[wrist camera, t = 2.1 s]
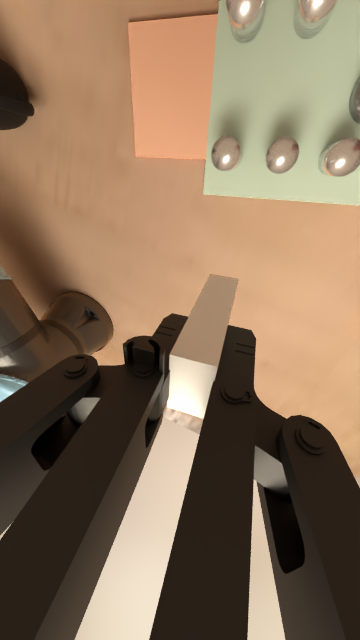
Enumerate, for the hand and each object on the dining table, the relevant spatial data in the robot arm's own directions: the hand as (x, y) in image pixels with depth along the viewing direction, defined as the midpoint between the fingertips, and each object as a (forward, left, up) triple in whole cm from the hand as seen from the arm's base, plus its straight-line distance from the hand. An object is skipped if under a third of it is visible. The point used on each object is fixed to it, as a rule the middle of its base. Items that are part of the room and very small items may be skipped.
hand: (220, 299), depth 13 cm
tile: (-11, +13, -25) cm, 30 cm away
